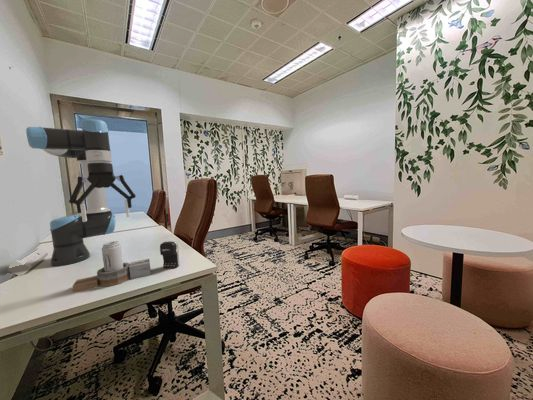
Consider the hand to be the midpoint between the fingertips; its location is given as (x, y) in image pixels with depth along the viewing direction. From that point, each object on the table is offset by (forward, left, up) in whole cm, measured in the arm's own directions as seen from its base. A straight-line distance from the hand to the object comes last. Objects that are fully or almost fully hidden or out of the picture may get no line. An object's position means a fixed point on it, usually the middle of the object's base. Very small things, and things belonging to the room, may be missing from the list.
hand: (107, 218), depth 83 cm
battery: (0, +20, -25) cm, 32 cm away
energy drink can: (0, 0, -25) cm, 25 cm away
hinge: (0, 0, -25) cm, 25 cm away
